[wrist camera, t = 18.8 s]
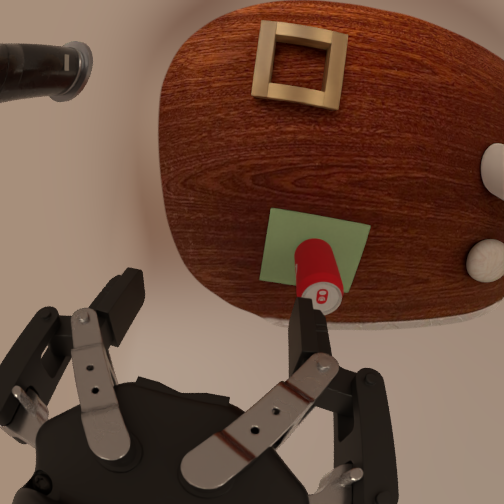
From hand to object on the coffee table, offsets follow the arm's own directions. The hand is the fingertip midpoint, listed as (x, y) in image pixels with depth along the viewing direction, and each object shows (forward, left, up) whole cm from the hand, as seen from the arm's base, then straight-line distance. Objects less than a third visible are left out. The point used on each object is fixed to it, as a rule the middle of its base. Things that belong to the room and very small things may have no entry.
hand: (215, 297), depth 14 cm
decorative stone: (+46, -6, -29) cm, 55 cm away
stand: (+3, +16, -29) cm, 33 cm away
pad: (+10, -12, -29) cm, 33 cm away
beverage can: (+10, -11, -29) cm, 32 cm away
